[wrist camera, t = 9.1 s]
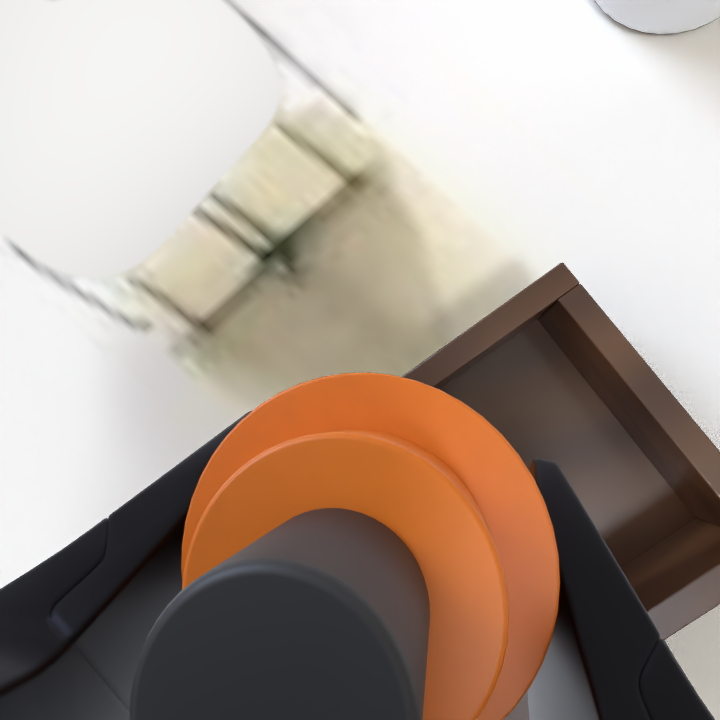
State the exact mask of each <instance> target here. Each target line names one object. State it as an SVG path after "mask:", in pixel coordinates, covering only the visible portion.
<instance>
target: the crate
mask: <svg viewBox="0 0 720 720" xmlns="http://www.w3.org/2000/svg"><path fill="white" fill-rule="evenodd" d="M402 377H403V378H407V379H411V380H415V381H418V382H421V383H424V384H426V385H429V386H431V387H434V388H437V389H439V390H441V391H443V392H445V393H447V394H449V395H451V396H452V397H454V398H456V399H458V400H460V401H462V402H463V403H464V404H466V405H467V406H469V407H470V408H471V409H473V410H474V411H476V412H477V413H478V414H480V415H481V416H483V417H484V418H485V419H486V420H487V421H488V422H489V423H490V424H491V425H492V426H493V427H494V428H495V429H497V430H498V431H499V432H500V433H501V434H502V435H503V436H504V438H505V439H506V440H507V441H508V442H509V444H510V445H511V446H512V447H513V448H514V450H515V451H516V452H517V453H518V454H519V456H520V457H521V459H522V461H523V462H524V464H525V465H526V467H527V468H528V470H529V469H530V466H531V463H532V461H533V459H535V458H541V459H547V460H553V461H555V462H557V463H558V465H559V466H560V468H561V469H562V471H563V473H564V474H565V476H566V478H567V479H568V481H569V483H570V484H571V486H572V488H573V489H574V491H575V493H576V494H577V496H578V498H579V499H580V501H581V503H582V504H583V506H584V508H585V509H586V511H587V513H588V514H589V516H590V518H591V519H592V521H593V523H594V524H595V526H596V528H597V529H598V531H599V533H600V534H601V536H602V538H603V539H604V541H605V543H606V544H607V546H608V548H609V549H610V551H611V553H612V554H613V556H614V558H615V559H616V561H617V563H618V564H619V566H620V568H621V569H622V571H623V573H624V574H625V576H626V578H627V579H628V581H629V583H630V584H631V586H632V588H633V589H634V591H635V593H636V594H637V596H638V598H639V599H640V601H641V603H642V604H643V606H644V608H645V609H646V611H647V613H648V614H649V616H650V618H651V619H652V621H653V623H654V624H655V626H656V628H657V629H658V631H659V633H660V635H661V636H660V639H663V640H665V639H666V638H668V637H669V636H671V635H673V634H674V633H676V632H677V631H679V630H680V629H682V628H683V627H685V626H686V625H688V624H690V623H691V622H693V621H694V620H696V619H697V618H699V617H700V616H702V615H704V614H705V613H707V612H708V611H710V610H711V609H713V608H714V607H716V606H718V605H719V604H720V451H719V450H718V449H717V448H716V446H715V445H714V444H713V443H712V442H711V440H710V439H709V438H708V437H707V436H706V434H705V433H704V432H703V431H702V430H701V428H700V427H699V426H698V425H697V423H696V422H695V421H694V420H693V419H692V417H691V416H690V415H689V414H688V413H687V411H686V410H685V409H684V408H683V407H682V405H681V404H680V403H679V402H678V401H677V399H676V398H675V397H674V396H673V395H672V393H671V392H670V391H669V390H668V389H667V387H666V386H665V385H664V384H663V383H662V381H661V380H660V379H659V378H658V377H657V375H656V374H655V373H654V372H653V370H652V369H651V368H650V367H649V366H648V364H647V363H646V362H645V361H644V360H643V358H642V357H641V356H640V355H639V354H638V352H637V351H636V350H635V349H634V348H633V346H632V345H631V344H630V343H629V342H628V340H627V339H626V338H625V337H624V336H623V334H622V333H621V332H620V331H619V330H618V328H617V327H616V326H615V325H614V323H613V322H612V321H611V320H610V319H609V317H608V316H607V315H606V314H605V313H604V311H603V310H602V309H601V308H600V307H599V305H598V304H597V303H596V302H595V301H594V299H593V298H592V297H591V296H590V295H589V293H588V292H587V291H586V290H585V289H584V287H583V286H582V285H581V284H579V281H578V280H577V279H576V278H575V276H574V275H573V274H572V273H571V272H570V270H569V269H568V268H567V267H566V266H565V264H564V263H560V264H559V265H557V266H556V267H555V268H553V269H552V270H550V271H549V272H548V273H546V274H545V275H543V276H542V277H541V278H539V279H538V280H536V281H535V282H534V283H532V284H531V285H529V286H528V287H527V288H525V289H524V290H522V291H521V292H520V293H518V294H517V295H515V296H514V297H513V298H511V299H510V300H508V301H507V302H506V303H504V304H503V305H501V306H500V307H499V308H497V309H496V310H494V311H493V312H492V313H490V314H489V315H487V316H486V317H485V318H483V319H482V320H481V321H479V322H478V323H476V324H475V325H474V326H472V327H471V328H469V329H468V330H467V331H465V332H464V333H462V334H461V335H460V336H458V337H457V338H455V339H454V340H453V341H451V342H450V343H448V344H447V345H446V346H444V347H443V348H441V349H440V350H439V351H437V352H436V353H434V354H433V355H432V356H430V357H429V358H427V359H426V360H425V361H423V362H422V363H420V364H419V365H418V366H416V367H415V368H413V369H412V370H411V371H409V372H408V373H406V374H405V375H404V376H402ZM504 720H529V706H528V692H526V693H525V695H524V696H523V697H522V699H521V700H520V701H519V703H518V704H517V705H516V707H515V708H514V709H513V710H512V711H511V712H510V713H509V714H508V715H507V716H506V717H505V719H504Z"/></svg>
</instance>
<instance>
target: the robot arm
mask: <svg viewBox="0 0 720 720" xmlns="http://www.w3.org/2000/svg"><path fill="white" fill-rule="evenodd" d="M251 412H252V411H250V412H248V413H246V414H245V415H244V416H242V417H241V418H240V419H238V420H237V421H236V422H234V423H233V424H232V425H230V426H229V427H228V428H226V429H225V430H224V431H222V432H221V433H220V434H218V435H217V436H216V437H214V438H213V439H211V440H210V441H209V442H207V443H206V444H205V445H203V446H202V447H201V448H199V449H198V450H197V451H195V452H194V453H193V454H191V455H190V456H189V457H187V458H186V459H185V460H183V461H182V462H181V463H179V464H178V465H176V466H175V467H174V468H172V469H171V470H170V471H168V472H167V473H166V474H164V475H163V476H162V477H160V478H159V479H158V480H156V481H155V482H154V483H152V484H151V485H150V486H148V487H147V488H146V489H144V490H143V491H141V492H140V493H139V494H137V495H136V496H135V497H133V498H132V499H131V500H129V501H128V502H127V503H125V504H124V505H123V506H121V507H120V508H119V509H117V510H116V511H115V512H113V513H112V514H111V515H109V518H108V519H107V518H105V519H104V520H102V521H101V522H100V523H98V524H97V525H96V526H94V527H93V528H91V529H90V530H89V531H87V532H86V533H85V534H83V535H82V536H80V537H79V538H78V539H76V540H75V541H73V542H72V543H71V544H69V545H68V546H66V547H65V548H63V549H62V550H61V551H59V552H57V553H56V554H54V555H53V556H51V557H50V558H48V559H47V560H45V561H44V562H42V563H41V564H39V565H38V566H36V567H35V568H33V569H31V570H30V571H28V572H27V573H25V574H24V575H22V576H20V577H19V578H17V579H16V580H14V581H12V582H11V583H9V584H8V585H6V586H4V587H3V588H1V589H0V720H130V697H131V690H132V684H133V678H134V674H135V670H136V667H137V663H138V660H139V657H140V654H141V652H142V649H143V647H144V644H145V642H146V639H147V637H148V635H149V633H150V631H151V629H152V627H153V626H154V624H155V622H156V620H157V619H158V617H159V616H160V615H161V613H162V612H163V611H164V609H165V608H166V606H167V605H168V604H169V603H170V602H171V601H172V600H173V599H174V598H175V597H176V595H177V594H178V593H179V592H180V591H181V590H182V572H181V562H182V542H183V535H184V528H185V521H186V518H187V514H188V510H189V507H190V503H191V499H192V496H193V494H194V492H195V489H196V487H197V484H198V482H199V479H200V477H201V475H202V473H203V471H204V469H205V467H206V466H207V464H208V462H209V460H210V458H211V457H212V455H213V454H214V452H215V451H216V449H217V448H218V447H219V445H220V444H221V443H222V441H223V440H224V439H225V437H226V436H227V435H228V434H229V433H230V432H231V431H232V430H233V429H234V428H235V426H236V425H237V424H238V423H239V422H240V421H241V420H242V419H243V418H245V417H246V416H247V415H248V414H250V413H251ZM529 472H530V473H531V475H532V476H533V478H534V480H535V482H536V484H537V486H538V488H539V491H540V493H541V495H542V497H543V499H544V501H545V504H546V507H547V510H548V513H549V516H550V519H551V522H552V525H553V529H554V534H555V539H556V545H557V550H558V555H559V573H560V591H559V603H558V613H557V617H556V622H555V627H554V631H553V636H552V639H551V642H550V645H549V648H548V650H547V653H546V656H545V658H544V661H543V664H542V666H541V667H540V669H539V671H538V673H537V675H536V677H535V679H534V681H533V682H532V684H531V686H530V688H529V689H528V691H527V692H528V706H529V720H715V719H714V717H713V716H712V715H711V713H710V712H709V710H708V709H707V707H706V706H705V704H704V703H703V702H702V700H701V699H700V697H699V696H698V694H697V692H696V691H695V689H694V688H693V686H692V684H691V683H690V681H689V680H688V678H687V677H686V675H685V673H684V672H683V670H682V669H681V667H680V665H679V664H678V662H677V661H676V659H675V657H674V656H673V654H672V652H671V651H670V649H669V647H668V646H667V644H666V642H665V641H664V640H663V639H660V636H661V635H660V633H659V631H658V629H657V628H656V626H655V624H654V623H653V621H652V619H651V618H650V616H649V614H648V613H647V611H646V609H645V608H644V606H643V604H642V603H641V601H640V599H639V598H638V596H637V594H636V593H635V591H634V589H633V588H632V586H631V584H630V583H629V581H628V579H627V578H626V576H625V574H624V573H623V571H622V569H621V568H620V566H619V564H618V563H617V561H616V559H615V558H614V556H613V554H612V553H611V551H610V549H609V548H608V546H607V544H606V543H605V541H604V539H603V538H602V536H601V534H600V533H599V531H598V529H597V528H596V526H595V524H594V523H593V521H592V519H591V518H590V516H589V514H588V513H587V511H586V509H585V508H584V506H583V504H582V503H581V501H580V499H579V498H578V496H577V494H576V493H575V491H574V489H573V488H572V486H571V484H570V483H569V481H568V479H567V478H566V476H565V474H564V473H563V471H562V469H561V468H560V466H559V465H558V463H557V462H555V461H553V460H547V459H541V458H535V459H533V461H532V463H531V466H530V469H529Z"/></svg>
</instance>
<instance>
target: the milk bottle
mask: <svg viewBox="0 0 720 720" xmlns="http://www.w3.org/2000/svg"><path fill="white" fill-rule="evenodd" d="M595 1H596V2H597V4H598V5H599V6H600V7H601V9H602V10H603V11H604V12H605V13H606V14H608V15H609V16H610V17H611V18H613V19H614V20H615V21H617V22H619V23H621V24H623V25H625V26H627V27H628V28H632V29H636V30H639V31H642V32H647V33H657V34H667V33H680V32H684V31H688V30H693V29H696V28H698V27H701V26H703V25H705V24H708V23H711V22H712V21H714V20H716V19H717V18H719V17H720V0H595Z"/></svg>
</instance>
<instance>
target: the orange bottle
mask: <svg viewBox="0 0 720 720" xmlns="http://www.w3.org/2000/svg"><path fill="white" fill-rule="evenodd" d="M181 572H182V590H181V591H180V592H179V593H178V594H177V595H176V597H175V598H174V599H173V600H172V601H171V602H170V603H169V604H168V605H167V606H166V608H165V609H164V611H163V612H162V613H161V615H160V616H159V617H158V619H157V620H156V622H155V624H154V626H153V627H152V629H151V631H150V633H149V635H148V637H147V639H146V642H145V644H144V647H143V649H142V652H141V654H140V657H139V660H138V663H137V667H136V670H135V674H134V678H133V684H132V690H131V697H130V720H504V719H505V717H506V716H507V715H508V714H509V713H510V712H511V711H512V710H513V709H514V708H515V707H516V705H517V704H518V703H519V701H520V700H521V699H522V697H523V696H524V695H525V693H526V692H527V691H528V689H529V688H530V686H531V684H532V682H533V681H534V679H535V677H536V675H537V673H538V671H539V669H540V667H541V666H542V664H543V661H544V658H545V656H546V653H547V650H548V648H549V645H550V642H551V639H552V636H553V631H554V627H555V622H556V617H557V613H558V603H559V591H560V573H559V555H558V550H557V545H556V539H555V534H554V529H553V525H552V522H551V519H550V516H549V513H548V510H547V507H546V504H545V501H544V499H543V497H542V495H541V493H540V491H539V488H538V486H537V484H536V482H535V480H534V478H533V476H532V475H531V473H530V472H529V470H528V468H527V467H526V465H525V464H524V462H523V461H522V459H521V457H520V456H519V454H518V453H517V452H516V451H515V450H514V448H513V447H512V446H511V445H510V444H509V442H508V441H507V440H506V439H505V438H504V436H503V435H502V434H501V433H500V432H499V431H498V430H497V429H495V428H494V427H493V426H492V425H491V424H490V423H489V422H488V421H487V420H486V419H485V418H484V417H483V416H481V415H480V414H478V413H477V412H476V411H474V410H473V409H471V408H470V407H469V406H467V405H466V404H464V403H463V402H462V401H460V400H458V399H456V398H454V397H452V396H451V395H449V394H447V393H445V392H443V391H441V390H439V389H437V388H434V387H431V386H429V385H426V384H424V383H421V382H418V381H415V380H411V379H407V378H403V377H399V376H395V375H387V374H378V373H344V374H338V375H331V376H325V377H321V378H317V379H314V380H311V381H307V382H304V383H301V384H298V385H296V386H294V387H292V388H289V389H287V390H285V391H283V392H281V393H279V394H277V395H275V396H274V397H272V398H271V399H269V400H267V401H266V402H264V403H262V404H261V405H259V406H258V407H257V408H256V409H254V410H253V411H252V412H251V413H250V414H248V415H247V416H246V417H245V418H243V419H242V420H241V421H240V422H239V423H238V424H237V425H236V426H235V428H234V429H233V430H232V431H231V432H230V433H229V434H228V435H227V436H226V437H225V439H224V440H223V441H222V443H221V444H220V445H219V447H218V448H217V449H216V451H215V452H214V454H213V455H212V457H211V458H210V460H209V462H208V464H207V466H206V467H205V469H204V471H203V473H202V475H201V477H200V479H199V482H198V484H197V487H196V489H195V492H194V494H193V496H192V499H191V503H190V507H189V510H188V514H187V518H186V521H185V528H184V535H183V542H182V562H181Z"/></svg>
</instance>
